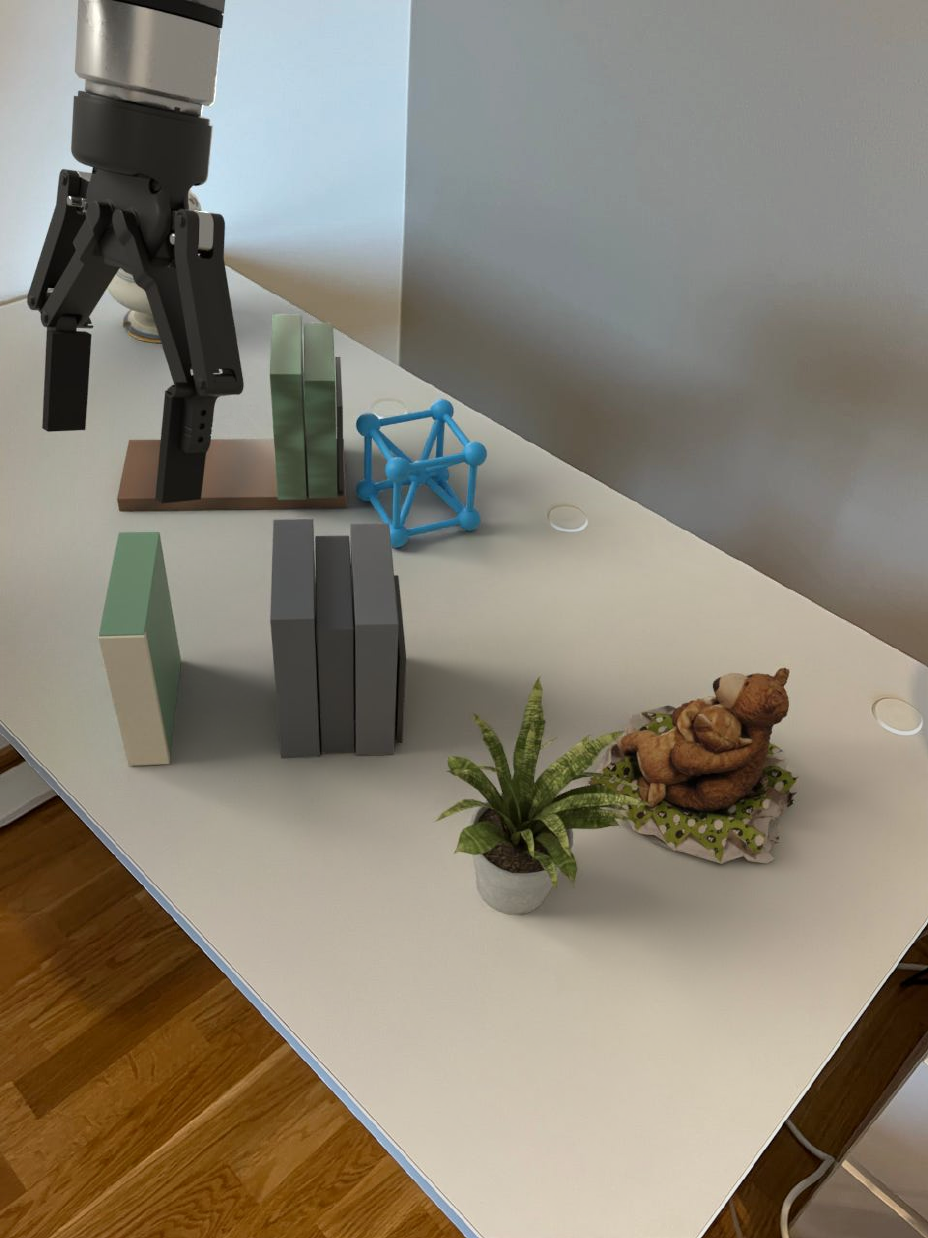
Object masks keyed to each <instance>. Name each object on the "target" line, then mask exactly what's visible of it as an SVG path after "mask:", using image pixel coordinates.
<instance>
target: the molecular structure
mask: <svg viewBox="0 0 928 1238" xmlns="http://www.w3.org/2000/svg"><path fill="white" fill-rule="evenodd" d="M454 413H455V409H454V406H453V403H452V402H451V401H449V400H448V399H445V398H439V399H436V400H435V401H433V403H431V406H430V409H425V410H420V411H414V412H409V413H404V414H397V415H393V416H387V417H382V418H379V417H378V416H377V415H376V414H375V413H372V412H363V413H362V414H360V415H359V416H358V417H357V419H356V422H355V429H356V431H357V432H358V434H359V435H360V436H362V437H364V438H363V439H364V441H363V442H364V443H363V445H364V446H363V447H364V448H363V449H364V451H363V455H364V456H363V463H364V464H363V465H364V466H363V473H364V475H363V476H364V477H363V478H362V479H361V480H360V481H358V483H357V484H356V488H355V490H356V491H355V492H356V495H357V496H358V498H359V499H360V500H362V501H363V502H370V503H371V505H372V506H373V507H374V509H375V511H376V512H377V514H378V516H379V517H380V519H381V520H382V522H383V524H385V523H388V524H389V526H390V537H391V547H392V548H395V549H396V548H401V547H403V546H405V544H406V543H407V542H408V540H409V537H412V536H417V535H421V534H422V535H423V534H426V533H430V532H434V531H435V532H436V531H439V530H443V529H448V528H451V527H456V526H457V527H458V526H459V527H460V528H461V530H464V531H467V532H468V531H469V532H471V531H474V530H476V529H477V528H478V527H479V526H480V524H481V520H482V517H481V513H480V511H479V510H477V509H476V508H474V507H475V498H476V495H475V494H476V488H477V487H476V485H477V477H478V476H477V474H478V467H480V466H482V465H483V464H484V463H485V462H486V460H487V457H488V452H487V451H488V450H487V448H486V446H485V445H484V444H483V443H481V442H479V441H470V439H469V438H468V437H467V436H466V434H465V433H464V432H463V430H462V429H461V428H460V427H459V425H458V424H457V422H456V421H455V419H454V418H453V416H454ZM428 418H431V419H433V423H432V426H431V429H430V431H429V434H428V437H427V438H426V439H427V440H426V442H425V445H424V448H423V451H422V453H421V455H420V459H419V460H415V461H413V460H412V459H411V458H410V457H409V456H408V455H407V454H406V453H405V452H404V451H403V450H401V449H400V448H399V447H398V446H397V445H396V444H395V443H394V442H393V441H392V440H391V439H390V438H389V437H388V436H386V435H385V434H384V433H383V432H382V431H381V427H385V426H391V425H396V424H401V423H407V422H411V421H412V422H413V421H417V420H422V419H423V420H424V419H428ZM446 425H447V427H449V429H450V430H451V432H452V433H453V434H454V435H455V437H456V438H457V439H458V441H459V442H460V443H461V445H462V447H463V448H462V452H459V453H454V454H449V455H445V456H444V443H445V431H446V430H445V427H446ZM435 441H436V442H435ZM373 442H374V443H375V444H376V446H377V448H378V450H379V451H380V452H381V454H382V455H383V457H384V458H385V460H386V462H387V463H386V464H385V468H384V473H385V476H386V477H387V479H384V480H381V481H378V482H377V481H376V480H375V479H373V477H372V475H373V474H372V473H373V471H372V470H373ZM434 445H435V457H434V458H430V456H431V453H432V450H433V447H434ZM429 458H430V459H429ZM462 463H465V464H466V465H467V466H469V469H468V470H469V471H468V479H467V481H468V482H467V491H466V492H467V493H466V503H465V504H466V505H465V504H464V503H463V502H462V501H461V499H460V498H459V496H458V495H457V494H456V492H455V490H454V489H453V488H452V485H450V484H449V482H448V481H449V480H450V471H449V469H448V468H450V467H453V466H455V465H459V464H462ZM409 485H410V486H409ZM419 485H420V486H421V485H426V486H427V487H429V488H430V489H431V490H432V491H433V492H434V493H435V494H436V495H437V496H438V497H439V498H440V499H441V500H442V501H443V502H445V504H447V505H448V506H449V507H450V508H451V509H452V511H454V512H455V513H456V514H457V517H454V518H450V519H445V520H441V521H436V522H432V523H427V524H424V525H419V526H414V527H410V528H407V527H405V523H406V521H407V518H408V516H409V513H410V510H411V508H412V505H413V502H414V500H415V496H416V494H417V491H418V488H419ZM404 486H409V489H408V490H407V494H406V497H405V499H404V502H403V504H402V487H404ZM392 489H393V493H392V495H393V496H392V519H391V518H390V516H389V515H388V513H387V511H386V509H385V508H384V506H383V505H382V503H381V502H380V500H379V499H378V496H379V495H380V492H382V491H386V490H392Z"/></svg>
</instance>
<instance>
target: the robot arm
mask: <svg viewBox="0 0 928 1238" xmlns="http://www.w3.org/2000/svg"><path fill="white" fill-rule="evenodd" d="M225 6H226V0H78V3H77V20H76V24H77V25H76V38H75V39H76V41H75V60H74V61H75V62H74V73H75V74H76V75H77V77H78V78H79V79H83V80H85V83H84V84H85V85H84V90H78V91H77V95H73V103H72V122H71V123H72V124H71V126H72V127H71V142H70V152H71V155H72V157H73V159H74V160H75V161H76V162H78V163H79V164H82V165H84V166H87V167H90V168H91V172H88V171H80V170H74V169H66V168H62V169H61V170H60V172H59V174H58V182H57V191H56V203H55V207H54V210H53V213H52V217H51V220H50V223H49V226H48V230H47V232H46V235H45V239H44V242H43V245H42V248H41V251H40V255H39V258H38V261H37V265H36V267H35V270H34V273H33V277H32V280H31V283H30V286H29V290H28V292H27V297H26V304H27V306H28V308H29V310H31V311H38V312H39V314H40V322H41V324H42V326H43V327H44V328H46V338H45V356H44V357H45V358H44V359H45V360H44V381H43V383H44V384H43V401H42V404H43V405H42V422H41V423H42V424H41V429H42V430H44V431H46V432H47V433H49V432H71V431H74V432H75V431H86V429H87V428H86V427H87V412H88V397H89V396H88V395H89V381H90V364H91V362H90V361H91V349H92V334H91V333H89V332H88V331H86V330H85V331H84V330H77V329H93V328H94V325H92V324H93V322H92V320H91V318H90V316H91V315H92V313H93V311H94V310H95V308H96V307H97V306H98V303H99V302H100V300H101V298H103V295H104V294H105V292H106V291H107V290H108V289H107V288H108V286H109V284H110V283H111V281H112V280H113V278H114V277H115V275H116V273H117V272H118V270H119V269H120V268H121V269H122V270H123V271H124V272H126V273H129V274H131V275H133V279H134V281H135V283H136V284H137V285H138V286H139V287H141V288H142V289H143V290H144V291H145V293H146V296H147V299H148V302H149V305H150V309H151V312H152V315H153V318H154V321H155V325H156V328H157V331H158V334H159V337H160V341H161V343H160V344H161V346H162V350H163V353H164V356H165V359H166V363H167V366H168V369H169V373H170V375H171V379H172V382H173V384H171V386H169V387H168V388H167V389H166V390H165V391H164V400H163V412H162V421H161V431H160V440H161V441H160V452H159V463H158V474H157V485H156V496H155V499H156V500H157V501H159V502H161V503H171V502H181V501H191V500H200V499H201V494H202V485H203V476H204V467H205V458H206V452H207V451H208V449H209V446H210V442H211V438H212V436H211V435H212V432H213V431H212V430H213V429H212V428H213V422H214V415H215V405H216V402H217V400H218V398H220V397H225V396H236V395H237V396H239V395H241V394H242V393H243V391H244V387H245V386H244V385H245V383H244V382H245V381H244V377H243V370H242V369H243V368H242V364H241V356H240V352H239V346H238V338H237V333H236V326H235V319H234V313H233V308H232V302H231V295H230V289H229V282H228V275H227V268H226V262H225V237H226V220H225V218H224V216H223V214H221V213H217V212H210V211H202V210H201V211H194V210H190V209H189V190H191V188H193V187H199V186H202V185H204V184H205V183H206V182H207V181H208V178H209V172H210V171H209V170H210V161H211V151H212V144H213V143H212V142H213V141H212V140H213V132H214V125H213V124H211V119H210V118H208V117H206V116H202V115H203V108H204V106H205V107H210V106H212V105H213V104H215V101H216V92H217V79H218V69H219V68H218V67H219V61H220V60H219V59H220V48H221V47H220V46H221V45H220V44H221V38H222V29H223V25H224V24H223V23H224V14H225V8H226V7H225ZM171 263H172V265H173V268H172V267H169V266H170V264H171ZM49 289H52V291H49ZM191 370H192V372H191ZM220 370H221V371H220Z"/></svg>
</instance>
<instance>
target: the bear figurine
mask: <svg viewBox="0 0 928 1238" xmlns="http://www.w3.org/2000/svg"><path fill="white" fill-rule="evenodd" d="M790 670H791V669H789V668H787V667H781V668H779V669H778V670H777V671H776V673H775V674H774V675H770V674H769V673H760V672H756V673H751V674H748V675H747V674H746V675H745V674H743V673H737V672H731V673H726V674H723V675H722V676H719V677H718V678H716V679H715V680H713V683H712V691H713V692H714V695H708V696H706V697H702V698H697V699H696V700H694V699H693V700H690V701H687V702H684V703H682V704H681V705H680V706H677V707H675V706H672V705H664V706H660V707H657V708H653V709H649V710H645V711H641V712H640V714H632V715H631V716H630V719H629V721H628V723H627V725H626V727H625V729H624V731H627V732H623V733H622V734H621V735H620V736H619V737H618V738H617V739H616V743H611V744H610V745H608V748H607V750H606V752H605V754H604V756H603V758H602V760H601V761H600V764H599V766H598V767H597V769H596V771H595V773H601V774H606V775H610V776H614V777H617V778H620V779H623V780H625V781H627V782H629V783H632V784H635V785H637V786H640V787H643V788H646V789H649V790H645V789H641V788H637V787H633V786H629V785H626V784H622V783H619V782H615V781H612V780H608V779H604V778H599V777H595V776H591V777H589V780H588V782H587V784H588V785H603V786H606V787H608V788H609V789H611V790H613V791H614V793H615V794H621V795H625V796H630V797H634V798H636V799H639V800H642V801H645V802H648V803H650V804H651V805H630V804H622V803H619V804H617V805H619V806H621V807H623V808H625V809H626V810H617V809H615V810H616V812H618V813H620V814H622V815H623V816H626V817H628V818H630V819H631V820H627V822H628V824H629V826H630V828H631V830H632V831H634V832H636V833H637V834H641V836H643V837H645V835H648V836H649V835H650V836H655V837H656V838H658V839H660V841H661V840H662V841H663V842H664V843H665V844H666V845H667V847H668V848H667V847H666V846H663V845H662V844H660V843H659V842H656V841H654V840H653V839H651V838H649V837H647V839H649V840H650V841H652V842H654V843H656V844H657V845H659V846H661V847H662V848H664V849H666V850H668V851H670V850H671V851H673V852H674V851H675V852H679V853H680V852H681V853H685V854H688V855H690V856H691V855H692V856H694V857H697V858H701V859H704V860H707V861H711V862H714V863H717V864H720V865H723V864H724V863H726V862H729V861H732V860H736V859H738V858H742V857H744V858H745V859H746V860H747V861H748V862H753V863H760V864H769V863H770V861H772V860H775V858H774V857H773V856H772V855H771V853H770V852H769V851H770V850H771V847H772V845H774V844H779V843H780V844H781V842H780V818H779V817H780V815H781V813H782V812H783V811H785V810H786V809H788V808H789V807H791V806H792V805H794V802H795V801H796V798H797V793H798V791H796V792H792V787H793V786H794V785H795V784H796V783H797V779H798V778H799V776H798V775H796V774H794V773H793V772H791V771H789V770H788V769H787V760H786V759H785V758H782V759H781V758H779V757H778V756H776V754H779V753H781V752H784V751H783V749H782V748H780V747H779V746H777V745H776V744H774V743H771V735H772V734H773V728H774V726H775V725H778V724H780V723H782V721H783V719H784V718H786V717H787V716H788V713H789V709H790V708H789V707H790V700H789V696H788V693H787V689H786V688H785V686H786V684H787V683H788V679H789V677H790ZM650 790H651V791H650ZM652 805H653V806H652ZM627 810H628V811H627ZM776 819H777V820H776ZM632 820H633V821H632ZM771 820H773V821H775V820H776V821H775V823H774V825H773V827H772V829H771V831H770V833H769V835H768V832H769V826H770V821H771Z"/></svg>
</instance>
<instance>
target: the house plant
mask: <svg viewBox="0 0 928 1238" xmlns="http://www.w3.org/2000/svg"><path fill="white" fill-rule="evenodd" d="M540 679H541V676H538V678H537V679H536V680H535V683H534V684H533V687H532V688H531V691H530V693H529V695H528V698H527V703H526V705H525V708H524V712H523V717H522V721H521V725H520V728H519V729H520V730H519V733H518V735H517V739H516V743H515V747H514V751H513V756H512V768H513V769H512V770H513V774H512V773H511V768H510V765H509V762H508V759H507V756H506V752H505V748H504V746H503V744H502V742H501V740H500V739H499V737H498V736H497V734H496V733H495V731H494V730H493V728H492V727H491V725H490V724H488V722H486V721H485V719H483V718H482V717H481V716H479V715H478V714H476V713H475V712H474V711H472V710H470V713H471V715H472V717H473V720H474V722H475V723H476V725H477V726H478V727H479V729H480V733H481V734H480V735H481V738H482V740H483V742H484V744H485V746H486V748H487V751H489V753H490V756H491V758H492V761H493V764H494V766H491V765H490V766H489V765H477V764H476V763H474V761H472V760H471V759H468V758H466V757H464V756H463V757H462V756H457V755H456V756H455V755H454V756H453V755H452V756H451V755H449V756H445V758H446V761H447V767H448V769H449V770H447V771H446V773H449V774H451V775H452V776H453V777H458V778H459V779H460V780H462V781H464V782H465V783H466V784H468V785H469V786H471V787H472V788H474V789H475V790H477V791H478V792H479V793H480V795H481V796H483V798H484V799H485V800H483V802H482V801H480V800H477V799H474V798H464V799H461V800H460V801H457V802H456V803H454V805H452V806H451V807H449V808H447V809H446V810H445V811H443V812H441V813H440V814H439V816H438V817H437V819H436V820H434V821H433V823H435V822H438V821H441V820H443V819H445V818H447V817H449V816H450V817H451V816H452V815H455V814H457V813H459V812H463V811H464V810H468V809H472V808H476V810H474V813H473V815H472V817H471V820H470V824H469V825H468V826H466V827H464V828H462V830H461V832H460V834H459V838H458V841H457V845H456V848H455V851H454V852H453V854H457V853H463V854H467V855H472V859H473V867H474V873H475V880H476V881H475V882H476V886H477V890H478V893H479V895H480V897H481V898H482V900H483V901H484V902H485V903H486V904H487V906H489V907H490V908H492V909H494V910H495V911H496V912H500V913H503V914H506V915H514V916H517V915H525V914H527V913H530V912H533V911H534V910H536V909H537V908H538V907H540V906H541V905H542V904H543V902H544V901H545V900H546V898H547V896H548V894H549V893H550V890H552V887H553V886H554V888H555V890H557V888H558V876H559V875H560V873H562V874H564V876H566V877H567V878H568V880H569V881H570V882H571V884H572V888H575V883H576V878H577V874H578V863H577V859H576V858H575V854H574V853H573V852H572V849H573V846H574V831H573V830H599V829H605V828H608V827H619V828H621V829H622V828H623V827H622V826H621V824H619V822H618V821H617V820H621V821H628V820H631V819H630V818H628V817H626V816H623V815H622V814H621V813H620V812H618V811H617V810H626V809H625V808H623V807H621V806H619V805H617V804H619V803H622V804H630V805H651V804H650V803H648V802H645V801H642V800H639V799H636V798H634V797H630V796H625V795H621V794H615V793H614V791H613V790H611V789H609V788H608V787H606V786H603V785H590V784H588V785H584V786H579V787H575V788H572V789H569V790H566V791H565V792H562V791H563V790H564V789H565V788H566V787H567V786H568V785H569V784H570V783H571V782H573V781H576V780H579V779H582V778H592V777H594V776H595V777H599V778H604V779H608V780H612V781H615V782H619V783H622V784H626V785H629V786H633V787H637V788H641V789H645V790H649V789H646V788H643V787H640V786H637V785H635V784H632V783H629V782H627V781H625V780H623V779H620V778H617V777H614V776H610V775H606V774H601V773H596V772H594V771H593V772H592V771H591V772H590V771H586V770H588V769H590V767H592V766H593V765H594V763H595V761H596V760H597V758H598V757H599V755H600V754H601V752H602V751H603V750H604V749H605V748H607V747H609V746H610V745H611V744H614V742H617V739H618V737H619V736H620V735H623V734H624V732H627V731H625V730H618V731H613V732H609V733H605V734H602V735H599V736H597V737H595V738H593V739H591V740H590V738H591V736H592V735H594V733H590V734H589V735H587V736H585V737H583V739H581V740H580V741H578V742H577V743H576V744H574V745H573V746H572V747H571V748H570V749H569V750H568V751H567V752H565V753H564V754H563V755H561V757H559V758H558V759H556V760H555V761H554V762H552V763H551V764H550V765H549V766H548V767H547V768H546V769H544V771H543V772H542V773H541V774H540V775H539V776H538V777H537V779H536V778H535V777H536V770H537V765H538V760H539V756H540V752H541V750H543V749H544V748H546V747H547V746H548V745H550V744H551V743H552V742H554V741H556V739H557V738H558V737H559V735H558V736H556V737H554V738H551V740H549V741H547V742H545V743H543V744H542V742H543V738H544V734H545V728H546V715H545V712H544V708H543V691H544V690H543V687H542V683H541V680H540ZM483 770H486V771H491V772H492V773H493V772H494V773H496V776H497V780H498V785H499V787H500V790H501V792H499V791H498V789H497V787H496V786H495V784H494V783H493V782H492V781H491V779H489V777H488V776H487V775H486V774H485V772H483ZM535 779H536V780H535ZM650 791H651V790H650ZM560 792H562V793H560ZM559 793H560V794H559ZM652 806H653V805H652ZM605 808H607V809H605ZM608 808H610V809H613V810H610V809H608ZM616 809H617V810H616ZM614 810H616V811H614ZM627 811H628V810H627ZM632 821H633V820H632Z"/></svg>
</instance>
